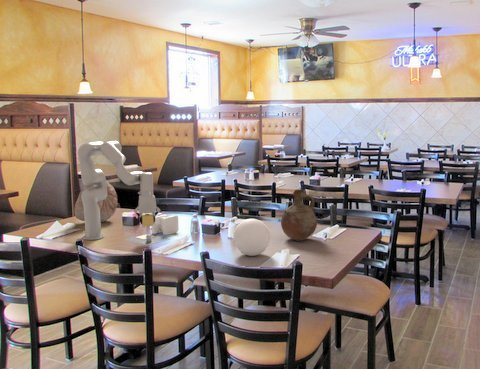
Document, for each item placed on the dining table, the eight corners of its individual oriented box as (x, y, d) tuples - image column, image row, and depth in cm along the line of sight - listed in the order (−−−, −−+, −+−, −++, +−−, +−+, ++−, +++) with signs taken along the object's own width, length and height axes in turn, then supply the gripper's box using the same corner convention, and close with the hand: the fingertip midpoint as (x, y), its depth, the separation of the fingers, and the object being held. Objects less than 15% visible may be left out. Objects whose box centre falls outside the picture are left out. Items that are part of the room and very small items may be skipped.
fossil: (115, 217, 383) (113, 177, 379) (122, 224, 360) (120, 181, 356) (72, 221, 371) (69, 180, 367) (76, 228, 347) (73, 185, 343)
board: (123, 241, 310) (123, 233, 309) (145, 236, 324) (145, 227, 323) (148, 247, 297) (148, 238, 296) (170, 240, 311) (170, 232, 310)
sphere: (253, 248, 292) (252, 213, 289) (278, 255, 277) (278, 219, 274) (226, 255, 279) (225, 219, 276) (250, 262, 264) (250, 224, 261)
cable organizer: (163, 237, 320) (163, 219, 319) (151, 235, 326) (150, 217, 324) (178, 232, 333) (178, 214, 331) (166, 230, 338) (165, 213, 337)
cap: (141, 224, 306) (141, 213, 305) (152, 223, 308) (151, 212, 307) (142, 226, 300) (142, 215, 299) (153, 225, 302) (153, 214, 301)
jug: (279, 235, 321) (279, 188, 317) (313, 234, 321) (314, 187, 317) (282, 244, 299) (282, 193, 295) (319, 243, 300) (319, 193, 295)
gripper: (132, 195, 295) (133, 225, 297) (162, 193, 300) (163, 223, 303) (131, 193, 302) (131, 222, 305) (160, 191, 307) (161, 221, 310)
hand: (147, 223), depth 304 cm, fingers closed on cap, 6 cm apart
